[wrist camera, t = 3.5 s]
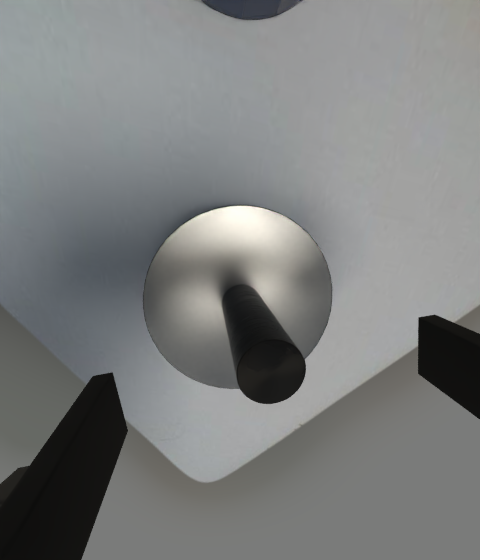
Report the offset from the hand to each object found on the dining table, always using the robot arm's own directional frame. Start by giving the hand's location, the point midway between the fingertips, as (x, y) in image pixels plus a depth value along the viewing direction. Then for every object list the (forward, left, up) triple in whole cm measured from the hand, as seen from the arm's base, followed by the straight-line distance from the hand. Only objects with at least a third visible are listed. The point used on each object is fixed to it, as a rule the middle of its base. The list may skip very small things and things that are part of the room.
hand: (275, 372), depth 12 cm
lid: (0, 0, -11) cm, 11 cm away
